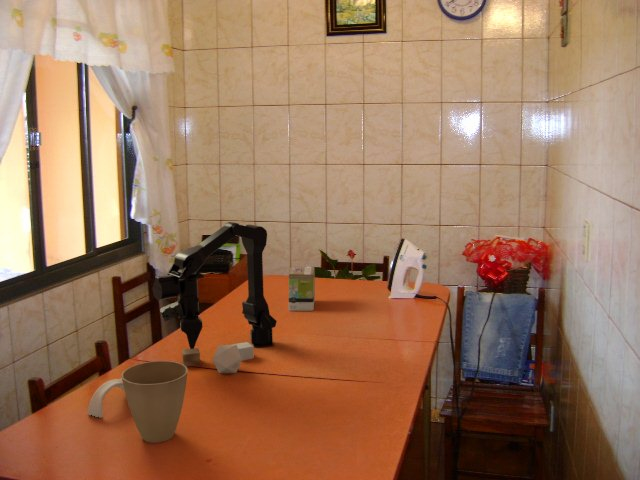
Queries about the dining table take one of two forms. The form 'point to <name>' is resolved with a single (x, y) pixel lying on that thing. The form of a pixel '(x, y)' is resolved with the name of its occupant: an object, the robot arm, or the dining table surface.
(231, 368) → the pale faceted polyhedron
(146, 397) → the plant pot
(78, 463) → the dining table surface
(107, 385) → the white curved arch
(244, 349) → the grey block
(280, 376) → the dining table surface
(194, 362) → the walnut block
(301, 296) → the tea box
